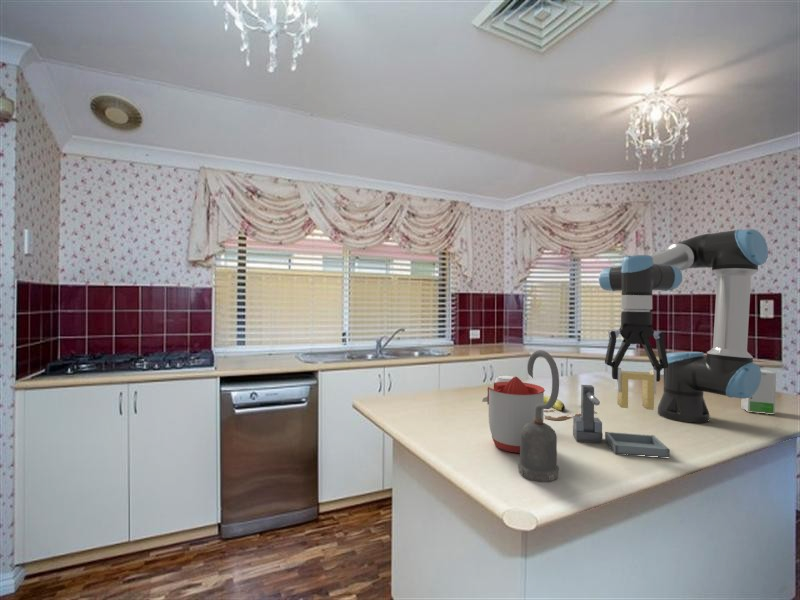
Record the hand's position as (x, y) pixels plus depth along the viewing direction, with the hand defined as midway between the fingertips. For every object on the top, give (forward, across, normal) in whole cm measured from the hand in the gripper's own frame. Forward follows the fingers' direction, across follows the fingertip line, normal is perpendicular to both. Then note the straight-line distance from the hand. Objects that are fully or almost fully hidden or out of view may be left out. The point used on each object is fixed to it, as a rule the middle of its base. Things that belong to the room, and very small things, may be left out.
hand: (635, 391), depth 112 cm
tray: (+16, 0, 0) cm, 16 cm away
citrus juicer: (+17, +33, +6) cm, 38 cm away
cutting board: (+17, +19, -41) cm, 49 cm away
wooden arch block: (+4, 0, 0) cm, 4 cm away
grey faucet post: (+16, +11, -1) cm, 20 cm away
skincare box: (+16, -57, -52) cm, 79 cm away
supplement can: (+16, +34, -18) cm, 42 cm away
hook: (+17, +27, +24) cm, 40 cm away
